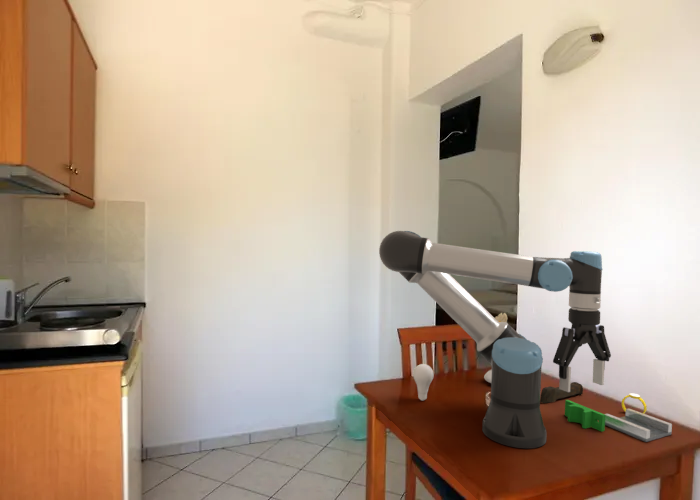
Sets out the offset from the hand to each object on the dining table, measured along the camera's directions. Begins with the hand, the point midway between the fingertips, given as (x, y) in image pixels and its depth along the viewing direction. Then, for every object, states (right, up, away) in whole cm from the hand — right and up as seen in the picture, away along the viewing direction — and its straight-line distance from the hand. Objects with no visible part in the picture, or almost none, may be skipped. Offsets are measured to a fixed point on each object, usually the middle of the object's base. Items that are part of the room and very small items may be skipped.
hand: (581, 387), depth 118 cm
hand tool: (+4, -10, +19) cm, 22 cm away
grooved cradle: (+13, -11, -2) cm, 17 cm away
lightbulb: (-41, -9, +14) cm, 44 cm away
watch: (+19, -11, +8) cm, 23 cm away
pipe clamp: (0, -11, +1) cm, 11 cm away
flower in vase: (-11, -9, +31) cm, 34 cm away
